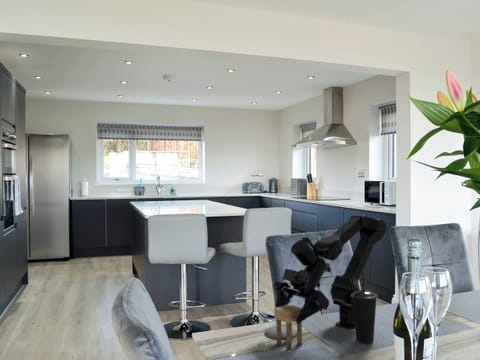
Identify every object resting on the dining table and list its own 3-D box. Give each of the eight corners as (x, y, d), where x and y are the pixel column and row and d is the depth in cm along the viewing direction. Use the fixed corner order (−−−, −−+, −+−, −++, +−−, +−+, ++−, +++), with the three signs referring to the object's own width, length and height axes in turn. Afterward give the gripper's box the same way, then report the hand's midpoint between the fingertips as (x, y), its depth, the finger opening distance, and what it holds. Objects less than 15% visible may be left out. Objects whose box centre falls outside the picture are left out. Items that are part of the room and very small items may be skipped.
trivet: (277, 325, 139) (277, 324, 139) (303, 332, 132) (303, 330, 132) (258, 334, 131) (258, 332, 131) (285, 341, 124) (285, 339, 124)
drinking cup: (348, 343, 123) (347, 274, 123) (354, 334, 130) (353, 269, 130) (375, 347, 119) (374, 276, 119) (380, 338, 126) (379, 271, 126)
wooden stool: (289, 339, 127) (289, 304, 127) (304, 345, 122) (303, 308, 122) (274, 344, 123) (274, 308, 123) (289, 350, 118) (288, 312, 118)
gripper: (276, 254, 133) (250, 295, 126) (321, 262, 118) (293, 310, 111) (295, 276, 137) (270, 316, 130) (340, 286, 122) (315, 333, 116)
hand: (285, 318), depth 122 cm, fingers open, 9 cm apart
